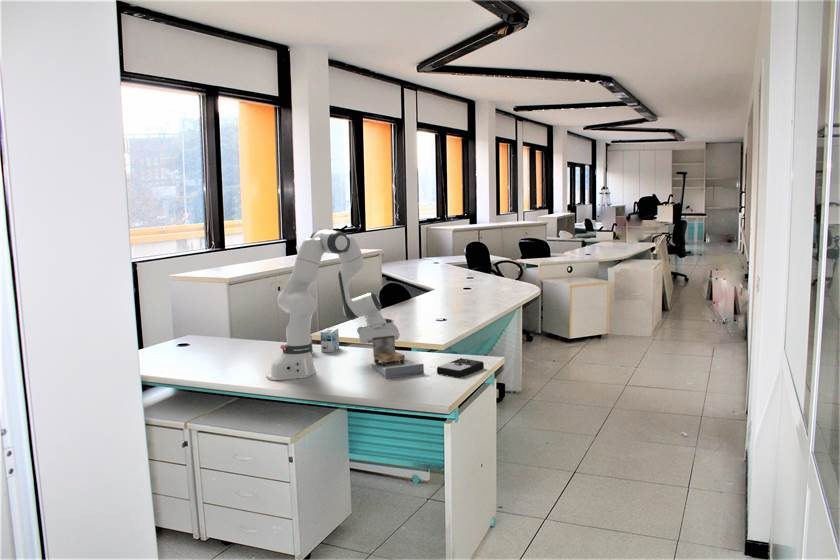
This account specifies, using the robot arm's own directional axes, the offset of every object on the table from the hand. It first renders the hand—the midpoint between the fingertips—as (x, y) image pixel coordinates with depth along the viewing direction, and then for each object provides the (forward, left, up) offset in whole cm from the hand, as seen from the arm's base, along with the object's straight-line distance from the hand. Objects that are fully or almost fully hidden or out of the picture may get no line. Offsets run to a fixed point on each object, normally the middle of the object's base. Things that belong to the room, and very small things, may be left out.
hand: (383, 348), depth 336 cm
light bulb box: (-18, +36, -7) cm, 40 cm away
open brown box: (0, -8, -6) cm, 10 cm away
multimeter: (+26, -35, -7) cm, 44 cm away
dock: (0, -20, -7) cm, 21 cm away
